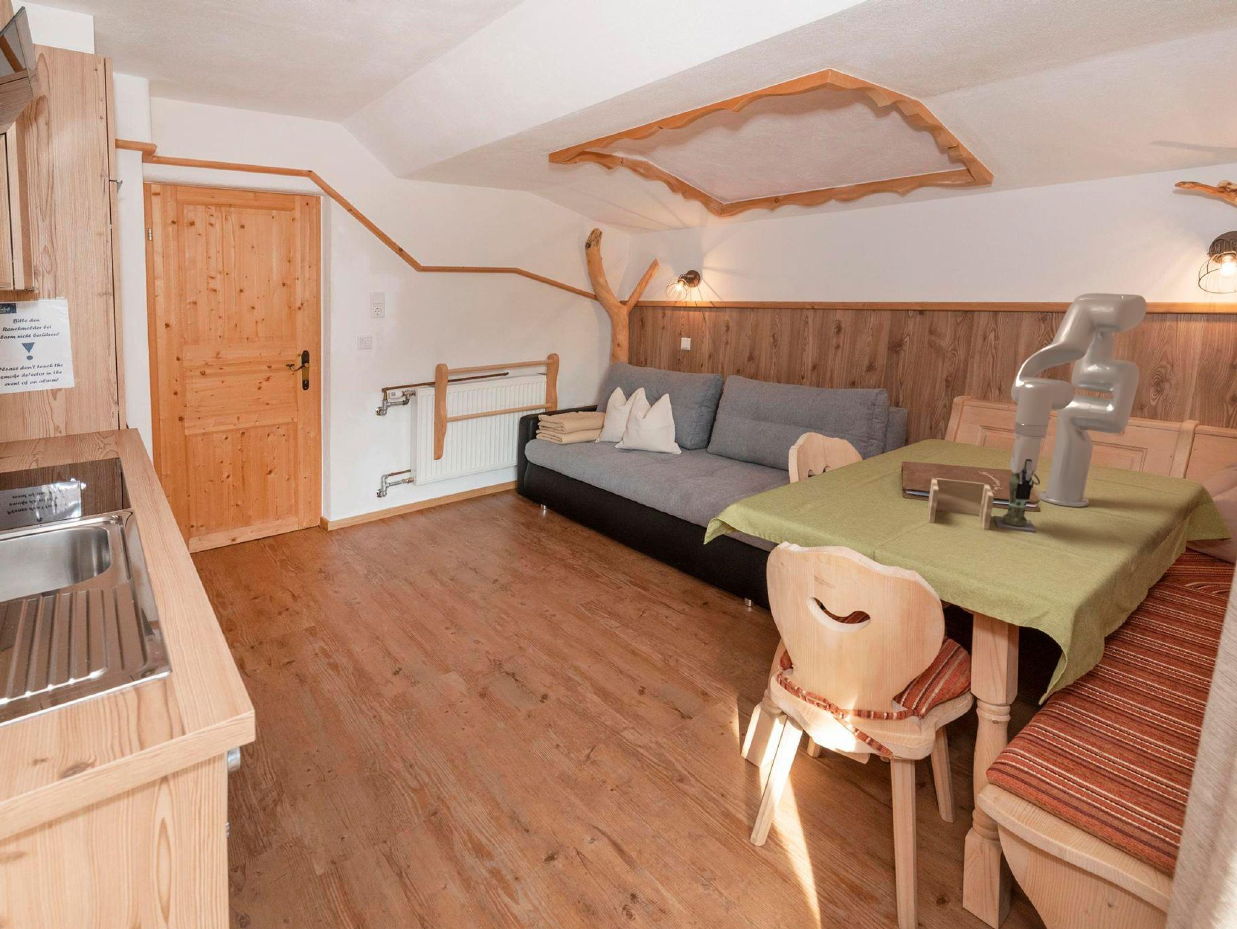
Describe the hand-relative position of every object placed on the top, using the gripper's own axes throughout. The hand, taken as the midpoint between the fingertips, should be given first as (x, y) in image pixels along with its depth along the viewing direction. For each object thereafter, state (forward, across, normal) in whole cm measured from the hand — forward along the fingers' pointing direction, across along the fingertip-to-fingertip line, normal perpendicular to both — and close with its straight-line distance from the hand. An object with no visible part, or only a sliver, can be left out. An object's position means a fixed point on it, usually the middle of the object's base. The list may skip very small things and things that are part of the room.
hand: (1019, 493), depth 192 cm
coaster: (+9, 0, 0) cm, 9 cm away
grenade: (+8, +1, 0) cm, 8 cm away
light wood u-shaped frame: (+9, +1, -14) cm, 17 cm away
